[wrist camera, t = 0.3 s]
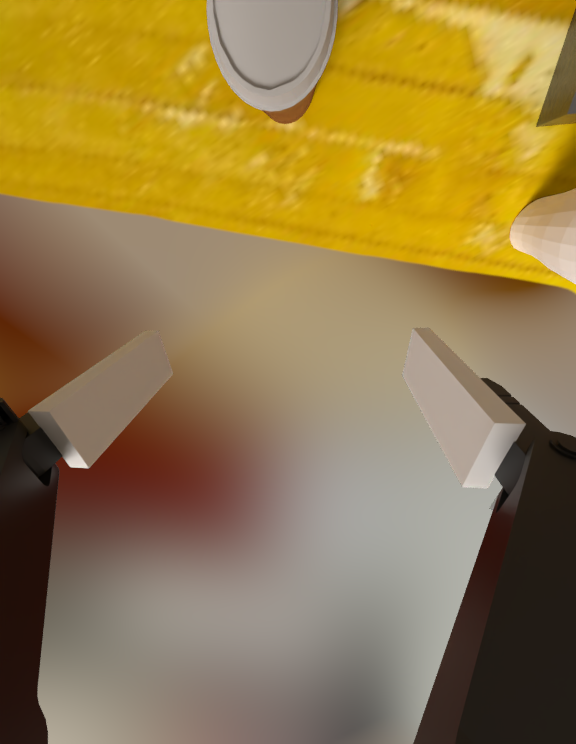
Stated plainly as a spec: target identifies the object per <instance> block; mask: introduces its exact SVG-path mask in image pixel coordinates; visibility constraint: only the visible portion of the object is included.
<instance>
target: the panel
mask: <svg viewBox="0 0 576 744" xmlns="http://www.w3.org/2000/svg"><path fill="white" fill-rule="evenodd" d="M570 123H576V9H575V12H574V15H573V18H572V21H571V24H570V27H569V30H568V33H567V36H566V39H565V42H564V45H563V48H562V51H561V54H560V57H559V60H558V63H557V66H556V69H555V72H554V75H553V78H552V81H551V84H550V87H549V90H548V93H547V96H546V99H545V102H544V105H543V108H542V111H541V114H540V117H539V120H538V123H537V126H536V127H539V126H550V125H560V124H570Z"/></svg>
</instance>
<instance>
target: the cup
mask: <svg viewBox="0 0 576 744" xmlns="http://www.w3.org/2000/svg"><path fill="white" fill-rule="evenodd" d="M510 241H511V244H512V245H513V247H514V248H515V249H517V250H519V251H521V252H524V253H527V254H530V255H532V256H533V257H535V258H537V259H538V260H539V261H540V262H542V263H543V264H544V265H545V266H546V267H548V268H549V269H551V270H552V271H554V272H556V273H557V274H559V275H561V276H562V277H564V278H566V279H568V280H569V281H571V282H573V283H574V284H576V188H575V189H573V190H570V191H567V192H564V193H561V194H556V195H552V196H547V197H543V198H540V199H538V200H535V201H534V202H532V203H531V204H529V205H528V206H527V207H525V208H524V209H523V210H522V211H521V212H520V213H519V215H518V216H517V217H516V219H515V221H514V222H513V224H512V227H511V230H510Z"/></svg>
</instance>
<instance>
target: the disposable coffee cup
mask: <svg viewBox="0 0 576 744" xmlns="http://www.w3.org/2000/svg"><path fill="white" fill-rule="evenodd" d="M337 8H338V0H207V20H208V29H209V35H210V41H211V45H212V49H213V52H214V55H215V58H216V61H217V63H218V66H219V68H220V70H221V72H222V75H223V77H224V78H225V80H226V81H227V83H228V84H229V86H230V87H231V88H232V90H233V91H234V92H235V93H236V94H237V95H238V96H239V97H240V98H241V99H242V100H243V101H244V102H246V103H247V104H249V105H251V106H253V107H255V108H257V109H259V110H262V111H264V112H265V113H266V114H267V115H268V116H269V117H270V118H272V119H273V120H274V121H276V122H278V123H283V124H288V123H292V122H295V121H296V120H298V119H299V118H300V117H302V116H303V114H304V113H305V112H306V110H307V109H308V107H309V105H310V103H311V100H312V97H313V94H314V90H315V87H316V84H317V82H318V80H319V79H320V77H321V75H322V73H323V71H324V69H325V67H326V64H327V62H328V59H329V56H330V53H331V50H332V46H333V42H334V38H335V31H336V23H337Z"/></svg>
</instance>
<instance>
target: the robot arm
mask: <svg viewBox="0 0 576 744" xmlns="http://www.w3.org/2000/svg"><path fill="white" fill-rule="evenodd" d="M172 375H173V372H172V369H171V366H170V363H169V360H168V357H167V354H166V351H165V349H164V346H163V343H162V340H161V337H160V334H159V331H144V332H143V333H141V334H140V335H138V336H137V337H135V338H134V339H132V340H131V341H130V342H128V343H127V344H125V345H124V346H122V347H121V348H119V349H118V350H116V351H115V352H113V353H112V354H111V355H109V356H108V357H106V358H105V359H103V360H102V361H100V362H99V363H97V364H96V365H94V366H93V367H91V368H90V369H89V370H87V371H86V372H84V373H83V374H81V375H80V376H78V377H77V378H76V379H74V380H73V381H71V382H70V383H68V384H67V385H65V386H64V387H62V388H61V389H59V390H58V391H56V392H55V393H53V394H52V395H51V396H49V397H48V398H46V399H45V400H43V401H42V402H40V403H39V404H37V405H36V406H34V407H33V408H31V409H30V410H29V411H28V413H26V414H25V415H24V416H22V417H21V418H18V417H17V416H16V414H15V413H14V412H13V411H12V409H11V408H10V407H9V406H8V404H7V403H6V402H5V401H4V400H3V399H2V398H0V744H48V731H47V725H46V719H45V717H44V715H43V712H42V710H41V708H40V706H39V703H38V697H37V687H38V677H39V667H40V657H41V647H42V638H43V628H44V618H45V608H46V597H47V588H48V579H49V568H50V559H51V549H52V539H53V529H54V519H55V509H56V500H57V489H58V480H59V468H58V467H57V465H56V464H55V463H56V461H58V460H59V459H60V458H61V457H63V458H64V459H65V461H66V462H67V463H68V465H69V466H70V467H76V468H90V466H91V465H92V464H93V463H94V462H95V461H96V460H97V459H98V458H99V456H100V455H101V454H102V453H103V452H104V451H105V450H106V449H107V447H108V446H109V445H110V444H111V443H112V442H113V441H114V440H115V438H116V437H117V436H118V435H119V434H120V433H121V432H122V431H123V429H124V428H125V427H126V426H127V425H128V424H129V423H130V422H131V421H132V419H133V418H134V417H135V416H136V415H137V414H138V413H139V412H140V410H141V409H142V408H143V407H144V406H145V405H146V404H147V403H148V401H149V400H150V399H151V398H152V397H153V396H154V395H155V394H156V392H157V391H158V390H159V389H160V388H161V387H162V386H163V384H165V382H166V381H167V380H168V379H169V378H170V377H171V376H172ZM402 376H403V378H404V380H405V382H406V384H407V386H408V388H409V390H410V391H411V393H412V395H413V397H414V399H415V401H416V402H417V404H418V406H419V408H420V410H421V412H422V414H423V415H424V417H425V419H426V421H427V423H428V425H429V427H430V429H431V430H432V432H433V434H434V436H435V438H436V440H437V441H438V443H439V445H440V447H441V449H442V451H443V453H444V455H445V456H446V458H447V460H448V462H449V464H450V466H451V468H452V469H453V471H454V473H455V475H456V477H457V479H458V481H459V482H460V484H461V486H462V487H470V488H488V487H489V485H490V484H491V482H492V480H493V479H494V477H495V476H496V478H497V479H498V481H499V482H500V484H501V485H502V486H503V488H502V490H501V491H500V493H499V495H498V496H497V497H496V499H495V500H494V502H493V504H492V505H491V507H490V509H491V510H493V512H492V515H491V518H490V521H489V524H488V527H487V530H486V533H485V536H484V538H483V542H482V545H481V547H480V550H479V553H478V556H477V559H476V562H475V565H474V568H473V571H472V574H471V577H470V580H469V583H468V585H467V588H466V591H465V594H464V597H463V600H462V603H461V606H460V609H459V612H458V615H457V617H456V620H455V623H454V626H453V629H452V632H451V635H450V638H449V641H448V644H447V647H446V650H445V653H444V656H443V659H442V662H441V664H440V668H439V670H438V673H437V676H436V679H435V682H434V685H433V688H432V691H431V694H430V697H429V700H428V703H427V705H426V708H425V711H424V714H423V717H422V720H421V723H420V726H419V729H418V732H417V735H416V738H415V741H414V743H413V744H576V438H575V437H573V436H571V435H567V434H564V433H560V432H553V431H550V430H549V429H547V428H546V427H545V426H544V425H543V424H542V423H541V422H540V421H539V420H538V419H537V418H536V417H535V416H533V415H532V414H531V413H530V412H529V411H528V410H527V409H526V408H525V407H524V406H522V405H520V403H519V402H518V401H517V400H516V399H515V398H514V397H511V394H510V393H508V392H507V391H506V390H505V389H504V388H503V387H502V386H500V385H499V384H497V383H495V382H493V381H491V380H489V379H488V378H479V377H478V376H477V375H476V374H475V373H474V372H473V371H472V370H471V369H470V368H469V367H468V366H467V365H466V364H465V363H464V362H463V361H462V360H461V359H460V358H459V357H458V356H457V355H456V354H455V353H454V352H453V351H452V350H451V349H450V348H449V347H448V346H447V345H446V344H445V343H444V342H443V341H442V340H441V339H440V338H439V337H438V336H437V335H436V334H435V333H434V332H433V331H432V330H431V329H430V328H413V329H412V334H411V338H410V343H409V347H408V352H407V356H406V361H405V366H404V370H403V374H402Z"/></svg>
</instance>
